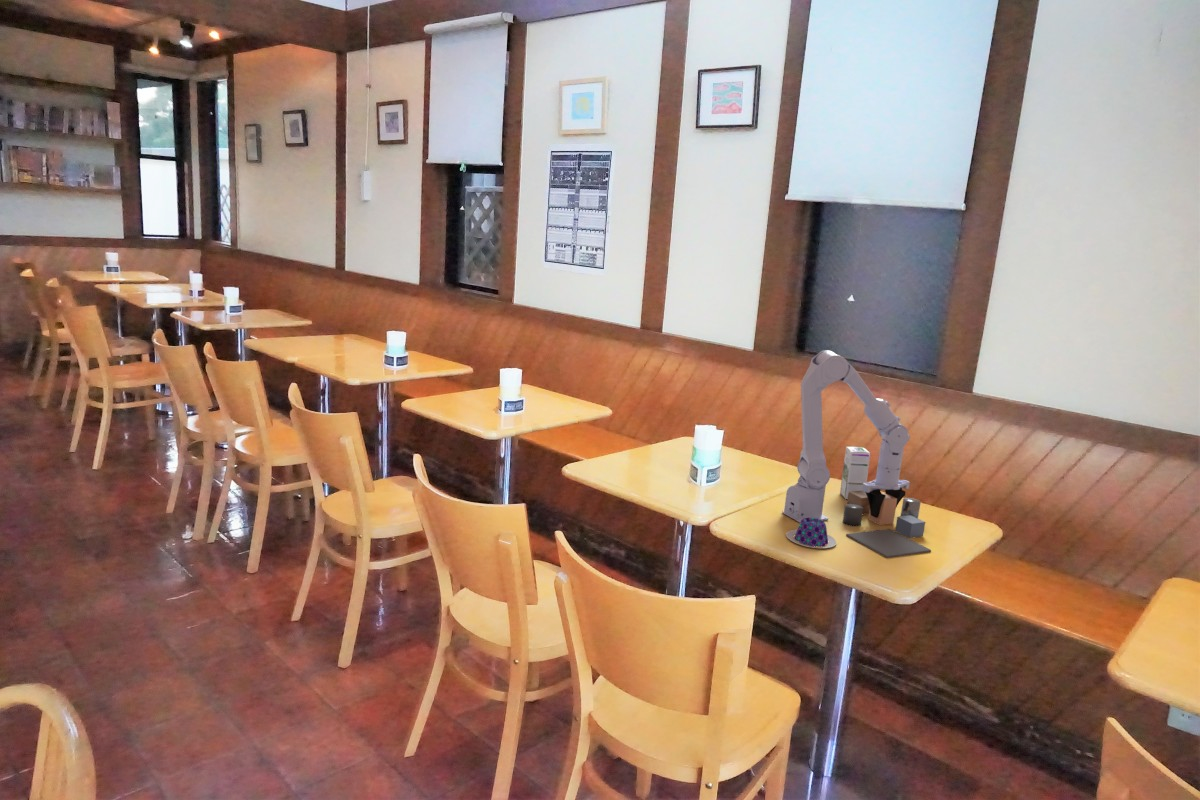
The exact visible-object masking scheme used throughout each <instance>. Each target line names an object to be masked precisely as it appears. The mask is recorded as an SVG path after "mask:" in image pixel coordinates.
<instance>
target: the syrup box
mask: <svg viewBox="0 0 1200 800" xmlns="http://www.w3.org/2000/svg"><path fill="white" fill-rule="evenodd" d="M870 459H871V452H870V451H868V450H867V448H866V447H864V446H862V447H861V446H845V452H844V459H843V467H842V468H843V469H842V475H841V484H840V490H839V493H840V495H841V496H842V497H843V498H844V500H846V499H848V494H849V492H852V491H862V486H863V483H868V475H869V467H870V466H869V465H870V461H871V460H870Z"/></svg>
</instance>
